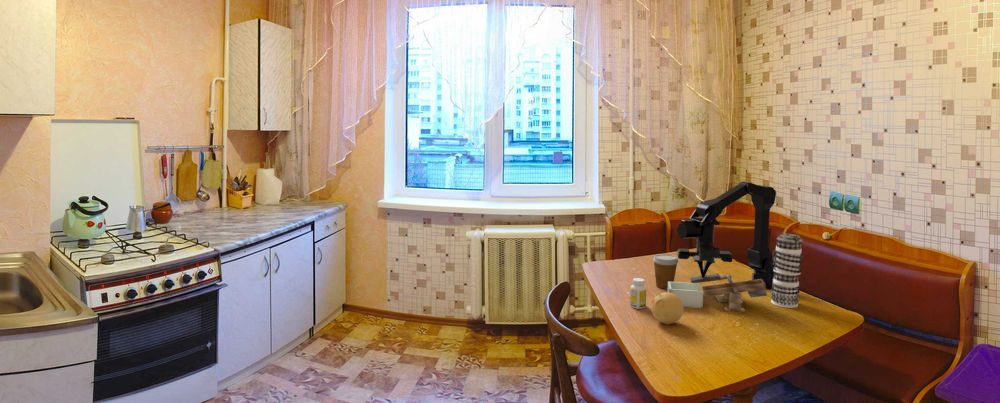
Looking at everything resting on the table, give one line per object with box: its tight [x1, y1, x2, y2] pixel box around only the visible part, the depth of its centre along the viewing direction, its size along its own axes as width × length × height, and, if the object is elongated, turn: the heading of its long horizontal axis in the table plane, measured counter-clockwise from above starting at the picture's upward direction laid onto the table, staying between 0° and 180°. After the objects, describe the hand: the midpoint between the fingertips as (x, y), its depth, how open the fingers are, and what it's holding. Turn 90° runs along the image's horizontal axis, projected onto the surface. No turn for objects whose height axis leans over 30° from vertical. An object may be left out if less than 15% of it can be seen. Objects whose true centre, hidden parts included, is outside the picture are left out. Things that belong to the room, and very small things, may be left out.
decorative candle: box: [770, 232, 804, 309], centre depth 176 cm, size 9×9×25 cm
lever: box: [689, 273, 768, 298], centre depth 180 cm, size 23×19×5 cm
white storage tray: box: [666, 281, 704, 309], centre depth 180 cm, size 11×9×6 cm
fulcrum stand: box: [716, 282, 745, 312], centre depth 177 cm, size 8×13×6 cm, turn 165°
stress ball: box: [650, 291, 685, 325], centre depth 161 cm, size 10×10×10 cm
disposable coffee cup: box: [652, 253, 679, 290], centre depth 197 cm, size 10×10×12 cm
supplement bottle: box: [629, 277, 647, 310], centre depth 176 cm, size 5×5×10 cm
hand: (702, 277), depth 189 cm, fingers closed
